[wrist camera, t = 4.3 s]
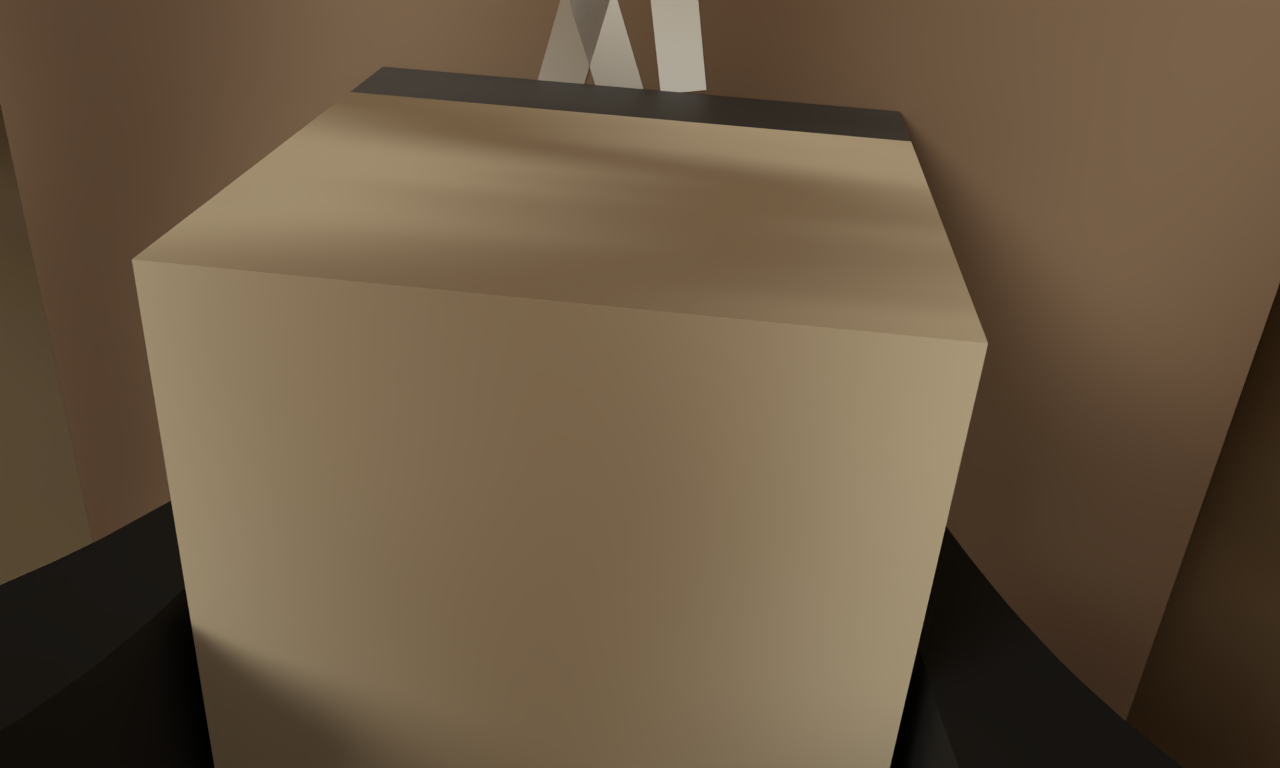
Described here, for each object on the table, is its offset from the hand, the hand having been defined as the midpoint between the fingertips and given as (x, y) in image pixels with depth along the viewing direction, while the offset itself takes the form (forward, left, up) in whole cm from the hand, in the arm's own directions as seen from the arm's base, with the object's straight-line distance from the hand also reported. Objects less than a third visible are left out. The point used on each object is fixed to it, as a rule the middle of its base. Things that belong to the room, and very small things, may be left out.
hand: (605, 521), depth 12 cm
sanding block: (0, 0, -1) cm, 1 cm away
